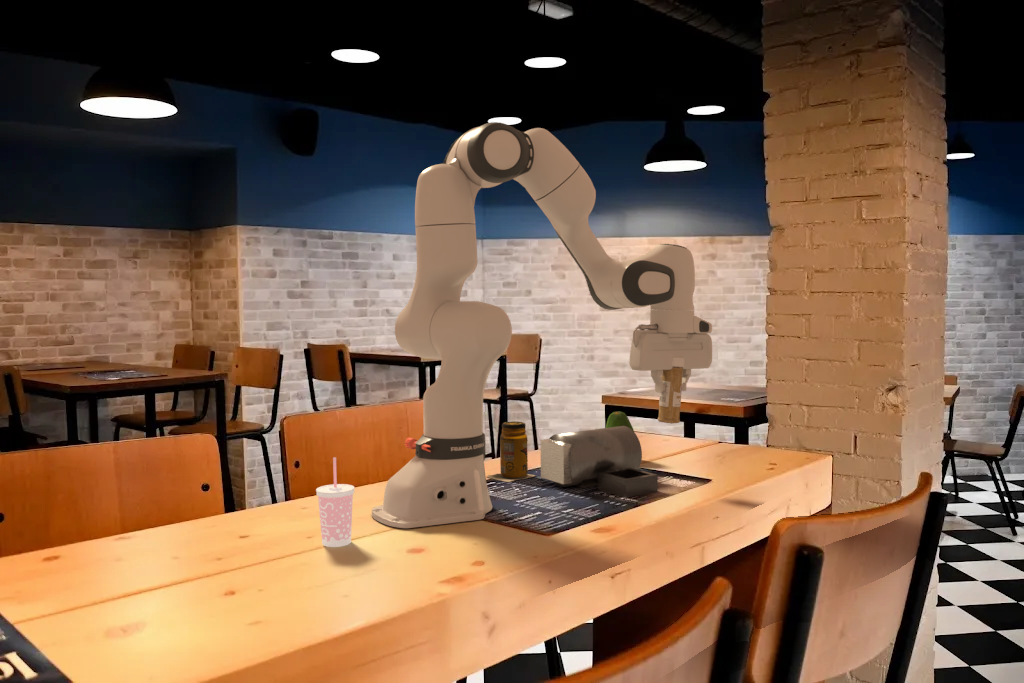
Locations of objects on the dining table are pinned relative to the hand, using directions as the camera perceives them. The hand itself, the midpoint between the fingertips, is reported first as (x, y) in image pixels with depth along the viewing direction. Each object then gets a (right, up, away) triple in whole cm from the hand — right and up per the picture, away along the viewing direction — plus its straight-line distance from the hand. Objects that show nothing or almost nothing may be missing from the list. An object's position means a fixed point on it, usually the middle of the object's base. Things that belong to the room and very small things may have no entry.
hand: (670, 391), depth 168 cm
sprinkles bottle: (0, -6, 0) cm, 6 cm away
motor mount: (-12, -20, +4) cm, 24 cm away
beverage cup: (-61, -23, -34) cm, 74 cm away
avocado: (-6, -19, +29) cm, 35 cm away
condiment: (-33, -20, +13) cm, 41 cm away
